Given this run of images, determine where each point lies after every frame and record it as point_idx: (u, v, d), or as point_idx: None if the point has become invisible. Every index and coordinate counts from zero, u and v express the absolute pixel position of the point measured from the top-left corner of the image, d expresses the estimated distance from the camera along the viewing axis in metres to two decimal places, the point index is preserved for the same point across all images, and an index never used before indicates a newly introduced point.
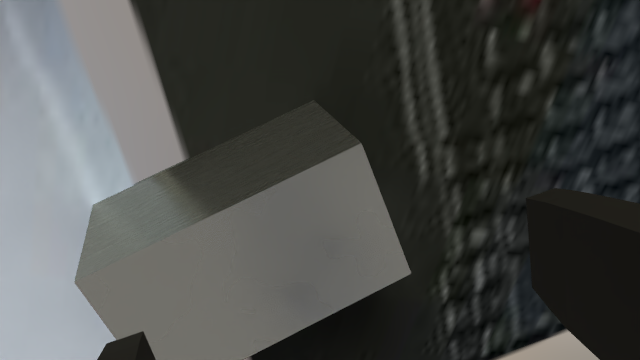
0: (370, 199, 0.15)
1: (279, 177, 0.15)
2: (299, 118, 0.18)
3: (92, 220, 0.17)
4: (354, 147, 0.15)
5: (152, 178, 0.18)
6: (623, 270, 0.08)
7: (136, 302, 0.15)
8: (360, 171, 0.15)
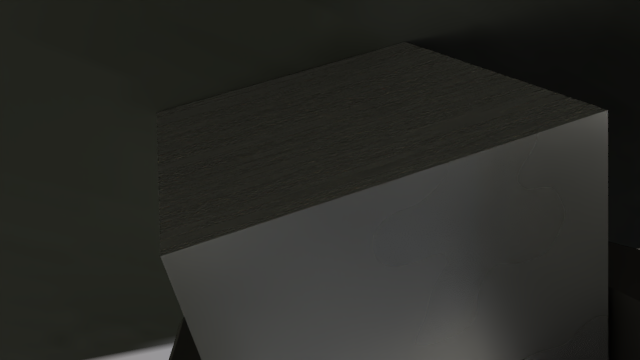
0: (344, 228, 0.05)
1: None
2: None
3: None
4: (171, 274, 0.05)
5: None
6: None
7: None
8: (250, 257, 0.05)
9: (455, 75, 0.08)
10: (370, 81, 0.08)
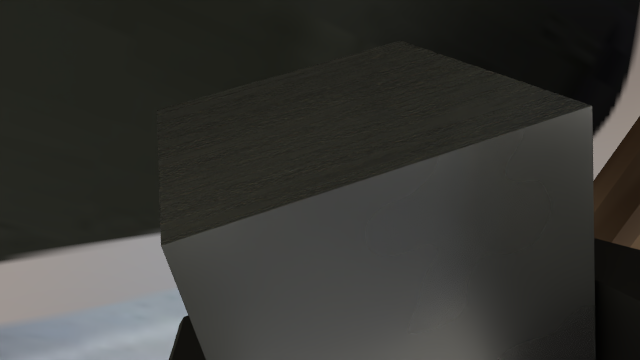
0: (338, 219, 0.05)
1: None
2: None
3: None
4: (172, 262, 0.05)
5: None
6: None
7: None
8: (247, 247, 0.05)
9: (447, 72, 0.08)
10: (366, 79, 0.09)
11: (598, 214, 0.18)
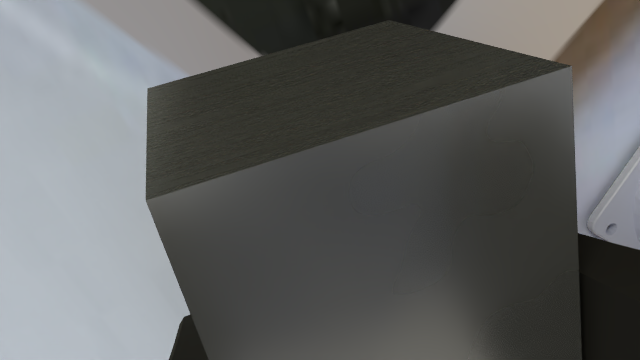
0: (321, 176, 0.06)
1: None
2: None
3: None
4: (156, 218, 0.05)
5: None
6: None
7: None
8: (231, 203, 0.05)
9: (433, 45, 0.08)
10: (354, 54, 0.09)
11: None
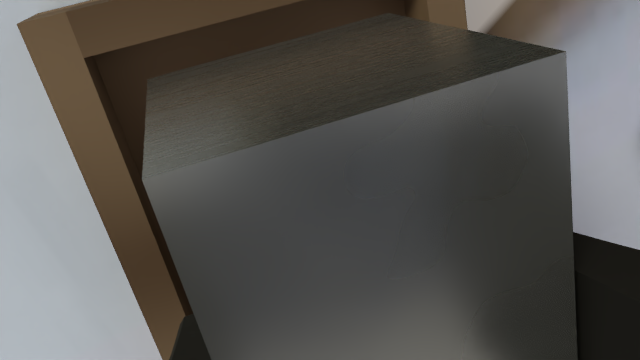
0: (316, 158, 0.06)
1: (211, 349, 0.06)
2: None
3: None
4: (152, 198, 0.05)
5: None
6: None
7: None
8: (227, 184, 0.05)
9: (430, 34, 0.08)
10: (351, 43, 0.09)
11: None
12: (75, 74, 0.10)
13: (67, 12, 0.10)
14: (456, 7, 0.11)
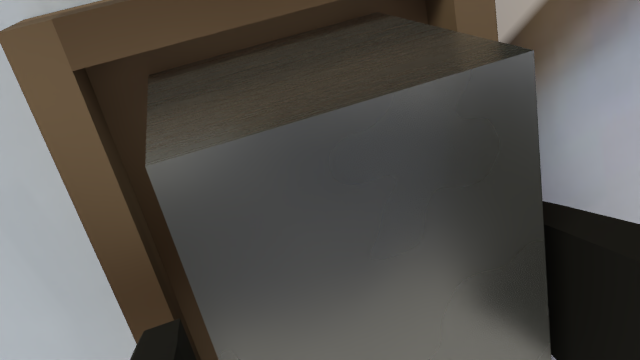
0: (304, 148, 0.06)
1: (208, 324, 0.07)
2: None
3: None
4: (155, 183, 0.06)
5: None
6: (588, 283, 0.08)
7: None
8: (222, 171, 0.06)
9: (414, 33, 0.09)
10: (341, 42, 0.09)
11: None
12: (63, 89, 0.09)
13: (53, 20, 0.08)
14: (486, 13, 0.10)
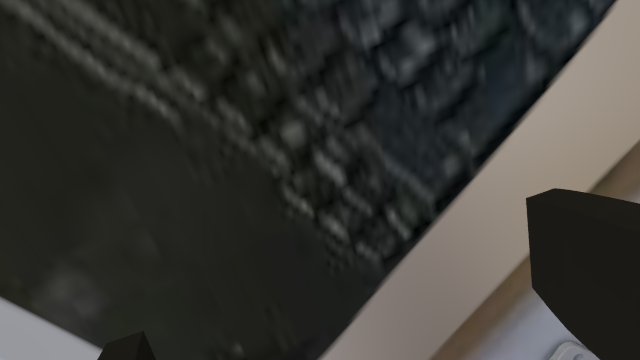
0: None
1: None
2: None
3: None
4: None
5: None
6: (623, 270, 0.08)
7: None
8: None
9: None
10: None
11: None
12: None
13: None
14: None
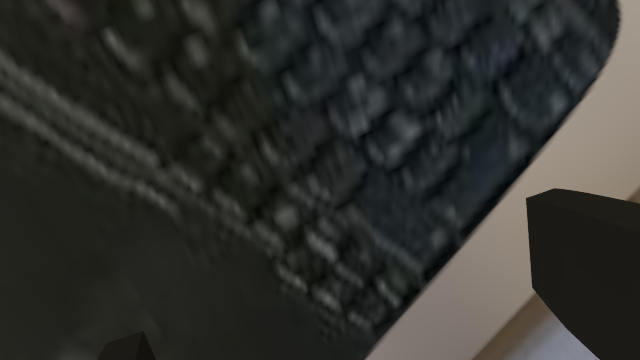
0: None
1: None
2: None
3: None
4: None
5: None
6: (623, 270, 0.08)
7: None
8: None
9: None
10: None
11: None
12: None
13: None
14: None
